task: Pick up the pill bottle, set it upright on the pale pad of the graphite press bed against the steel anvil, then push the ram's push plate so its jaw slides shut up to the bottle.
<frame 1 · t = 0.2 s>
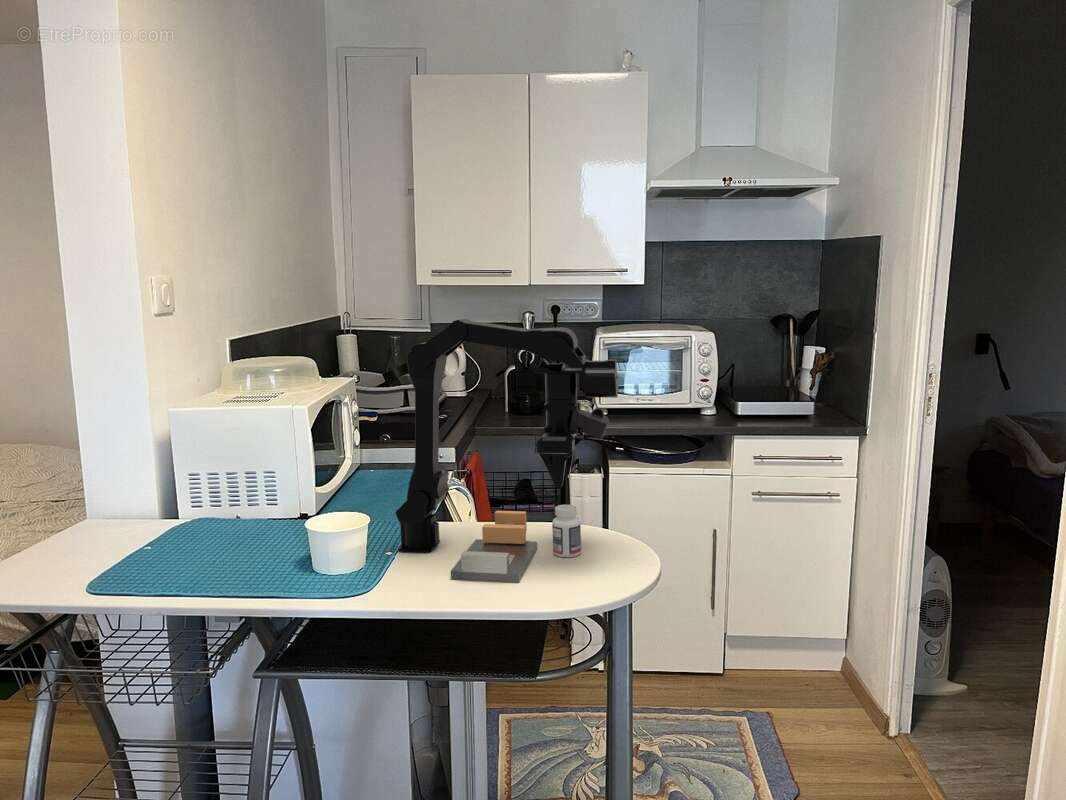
hand: (563, 480, 146), 14 cm above the countertop, fingers open, 9 cm apart
pill bottle: (567, 554, 149), on the countertop
press bed: (496, 563, 144), on the countertop
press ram: (507, 526, 153), point 4 cm above the countertop, slide at 0.0 cm
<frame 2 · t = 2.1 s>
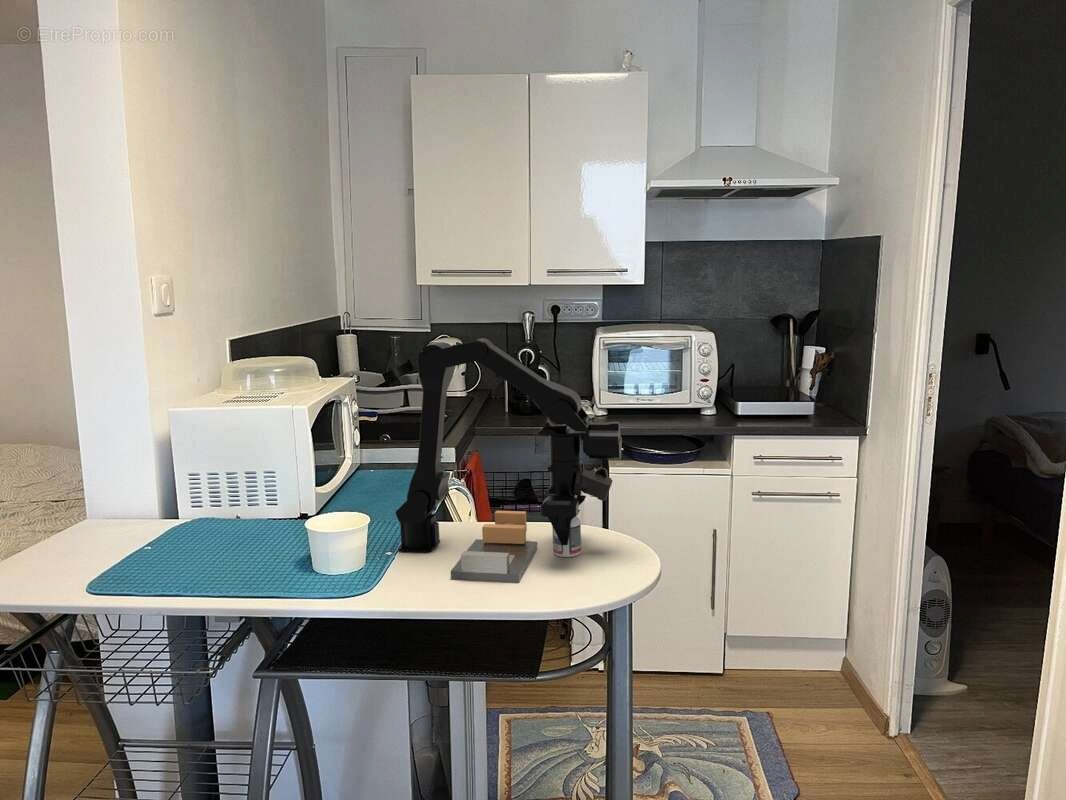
hand: (566, 540, 148), 3 cm above the countertop, fingers closed on pill bottle, 5 cm apart
pill bottle: (567, 554, 149), on the countertop, touching gripper
everything else where it was.
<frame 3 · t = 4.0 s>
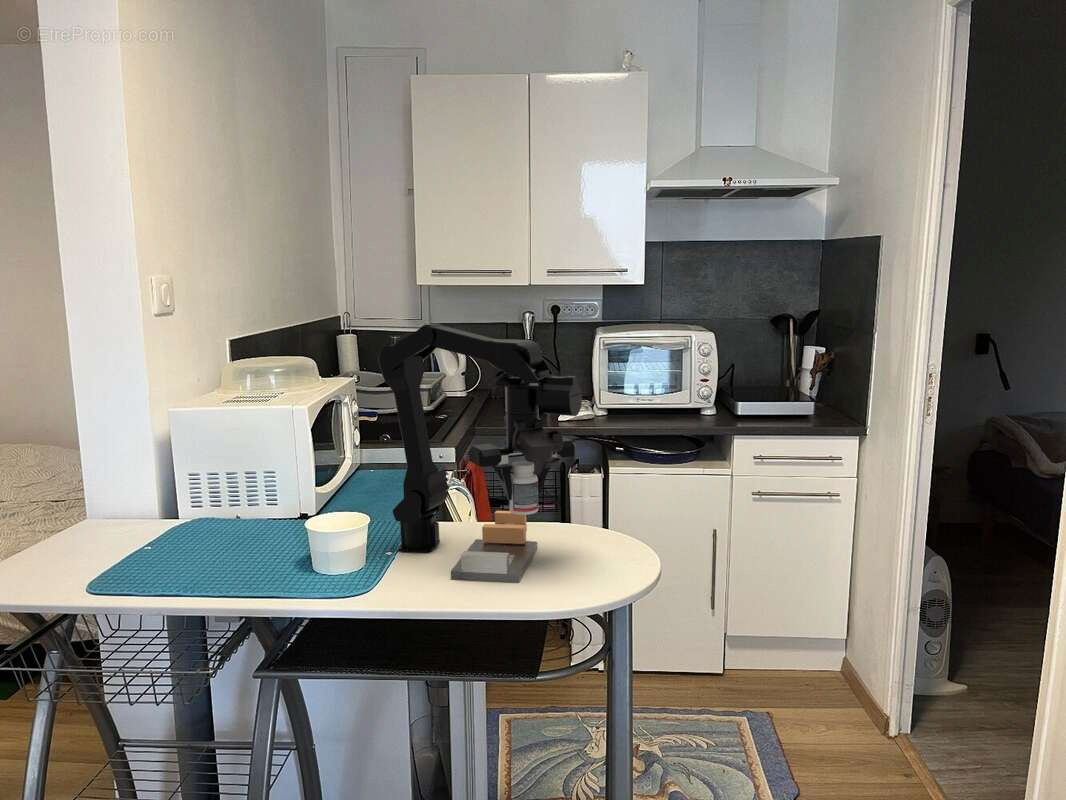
hand: (523, 497, 143), 12 cm above the countertop, fingers closed on pill bottle, 5 cm apart
pill bottle: (523, 512, 143), point 9 cm above the countertop, touching gripper
everything else where it was.
when the fingers open (5 cm above the countertop, at t = 6.1 s): pill bottle drops 1 cm, resting on press bed.
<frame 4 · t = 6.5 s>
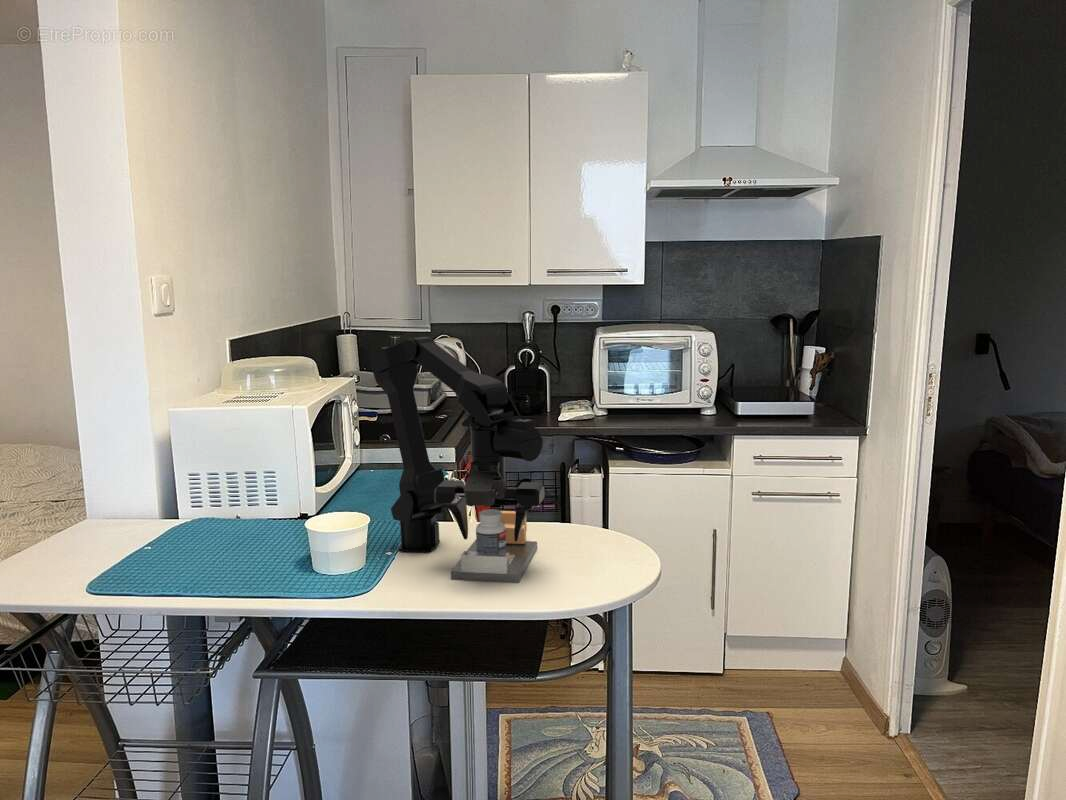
hand: (491, 539, 140), 5 cm above the countertop, fingers open, 9 cm apart
pill bottle: (491, 561, 141), point 1 cm above the countertop, touching press bed
everything else where it was.
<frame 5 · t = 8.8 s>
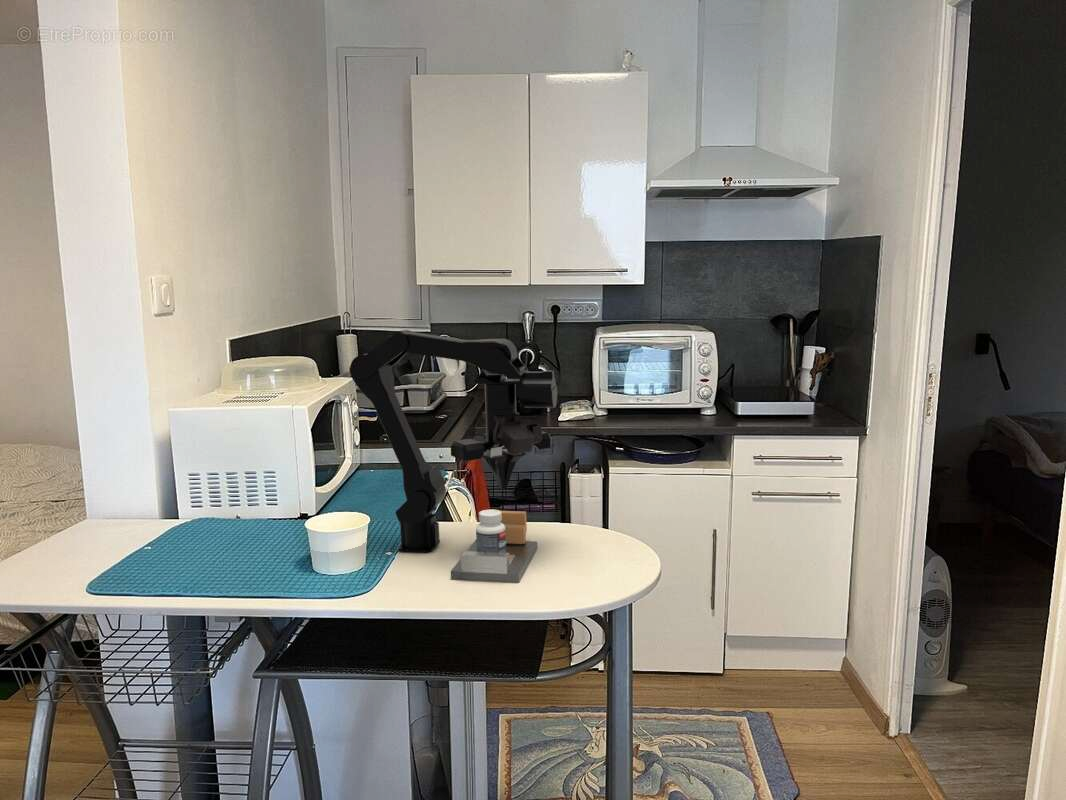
hand: (503, 489, 149), 12 cm above the countertop, fingers closed
nothing on the countertop moved.
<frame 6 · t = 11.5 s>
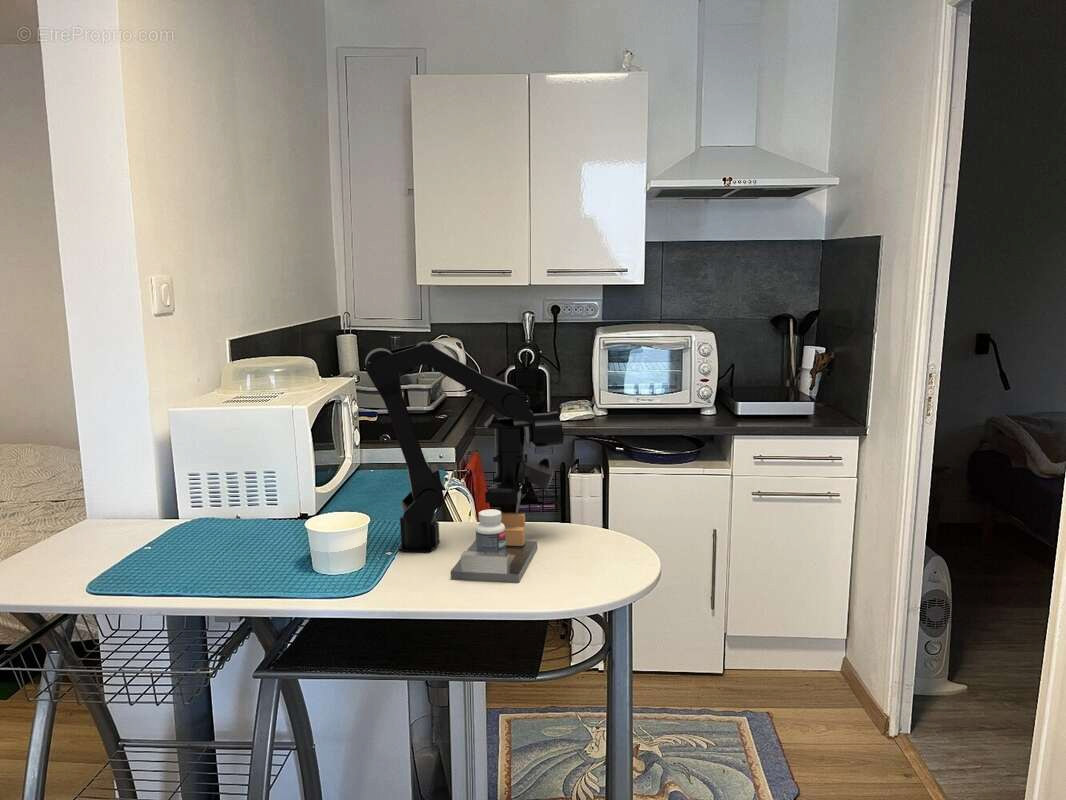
hand: (512, 526, 158), 2 cm above the countertop, fingers closed
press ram: (506, 528, 152), point 4 cm above the countertop, slide at 1.2 cm, touching gripper
everything else where it was.
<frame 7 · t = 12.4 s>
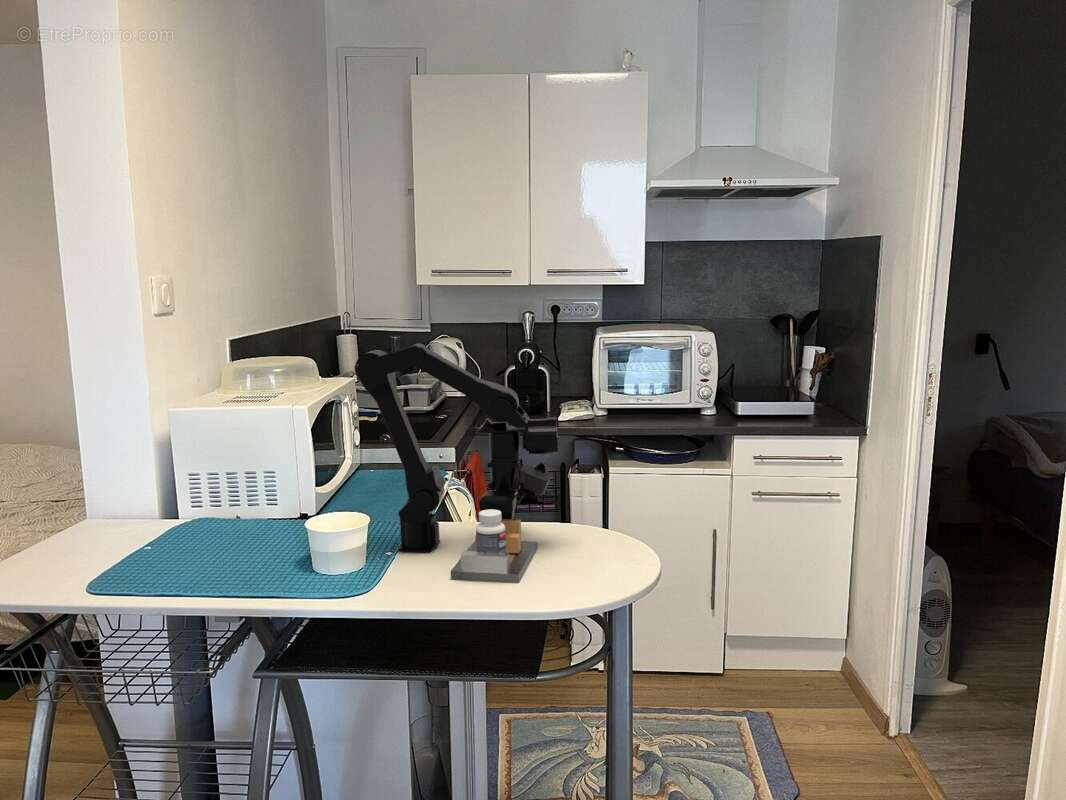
hand: (507, 532, 154), 2 cm above the countertop, fingers closed
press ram: (501, 535, 148), point 4 cm above the countertop, slide at 5.1 cm, touching gripper
everything else where it was.
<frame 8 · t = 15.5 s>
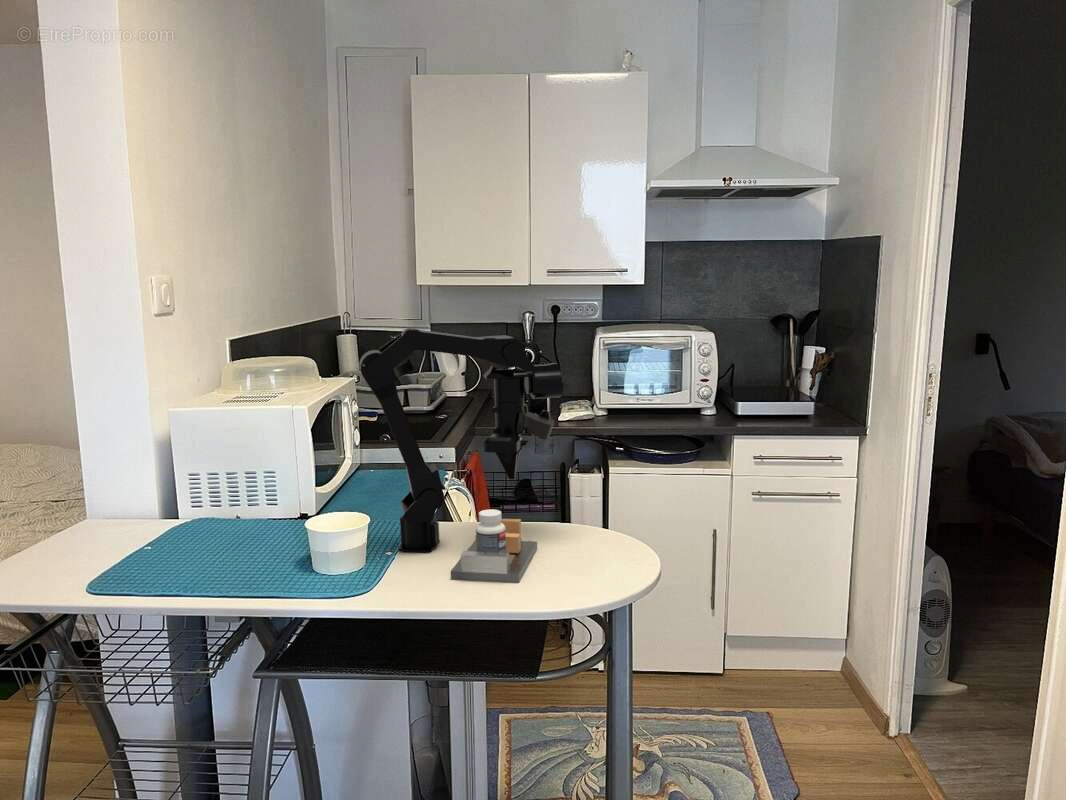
hand: (511, 478, 157), 12 cm above the countertop, fingers closed
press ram: (501, 535, 148), point 4 cm above the countertop, slide at 5.0 cm
everything else where it was.
at the end: pill bottle 0.0 cm from the target spot, point 1.4 cm above the countertop; pill bottle tilted 0°; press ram slide at 5.0 cm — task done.
